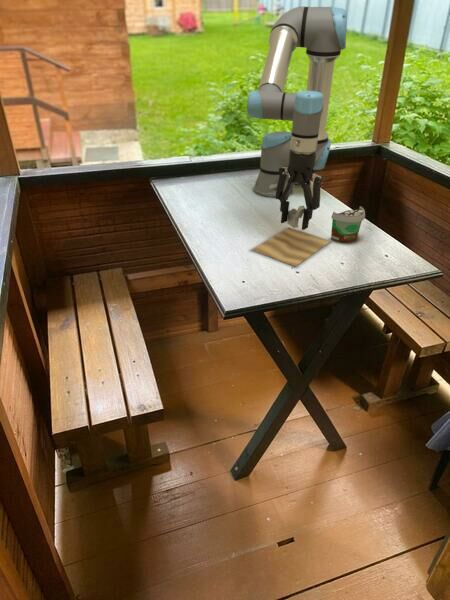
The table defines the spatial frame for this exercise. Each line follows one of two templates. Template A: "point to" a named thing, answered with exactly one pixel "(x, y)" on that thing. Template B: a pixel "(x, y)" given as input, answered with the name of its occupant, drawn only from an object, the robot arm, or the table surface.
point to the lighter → (295, 216)
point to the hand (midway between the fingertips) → (294, 225)
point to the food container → (346, 225)
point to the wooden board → (291, 246)
